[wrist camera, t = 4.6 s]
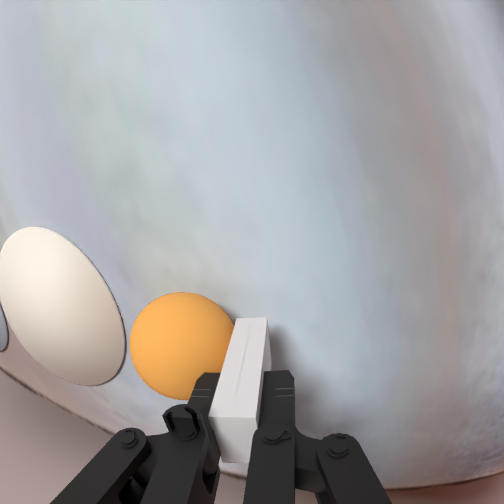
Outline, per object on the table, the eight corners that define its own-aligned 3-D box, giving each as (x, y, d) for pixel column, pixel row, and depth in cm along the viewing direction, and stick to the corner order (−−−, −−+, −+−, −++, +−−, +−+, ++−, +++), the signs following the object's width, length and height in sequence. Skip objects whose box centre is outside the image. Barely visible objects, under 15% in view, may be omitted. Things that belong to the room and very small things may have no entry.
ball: (229, 321, 11) (98, 332, 11) (247, 418, 13) (138, 422, 13) (230, 269, 17) (134, 281, 16) (243, 352, 18) (158, 360, 18)
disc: (97, 215, 16) (96, 216, 16) (146, 394, 20) (145, 395, 20) (-16, 235, 18) (-18, 236, 17) (31, 371, 21) (29, 372, 21)
